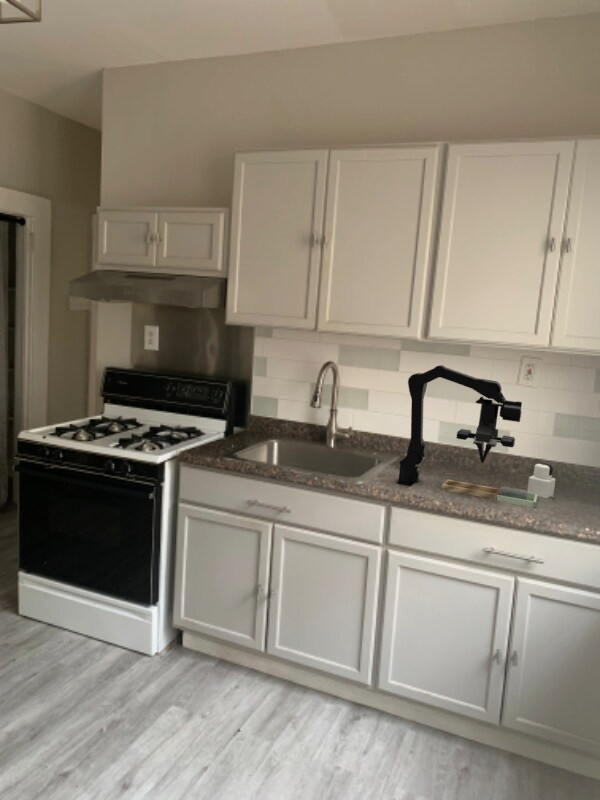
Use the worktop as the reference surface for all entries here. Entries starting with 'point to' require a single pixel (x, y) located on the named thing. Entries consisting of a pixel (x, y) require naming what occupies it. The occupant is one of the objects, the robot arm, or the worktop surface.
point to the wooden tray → (470, 489)
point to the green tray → (519, 500)
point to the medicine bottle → (542, 481)
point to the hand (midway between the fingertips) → (482, 462)
